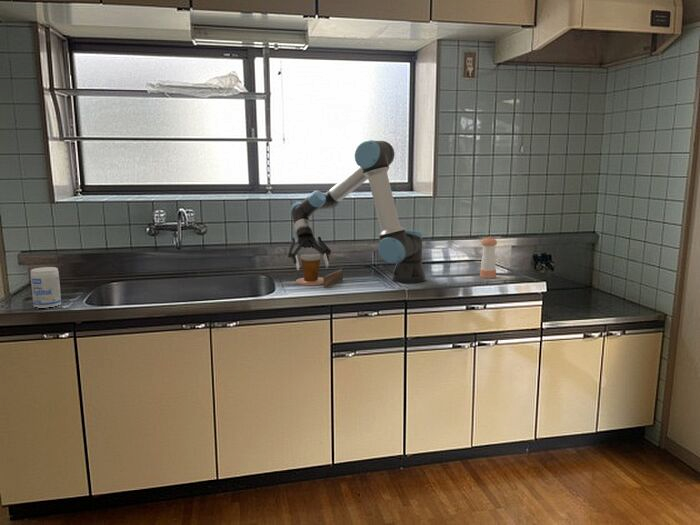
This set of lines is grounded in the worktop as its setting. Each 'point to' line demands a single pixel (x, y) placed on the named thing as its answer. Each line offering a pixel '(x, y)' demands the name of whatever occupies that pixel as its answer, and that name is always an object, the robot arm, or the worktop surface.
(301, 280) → the terracotta coaster
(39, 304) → the supplement tub
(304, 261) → the disposable coffee cup
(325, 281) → the walnut wall
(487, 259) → the pepper shaker
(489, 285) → the worktop surface
